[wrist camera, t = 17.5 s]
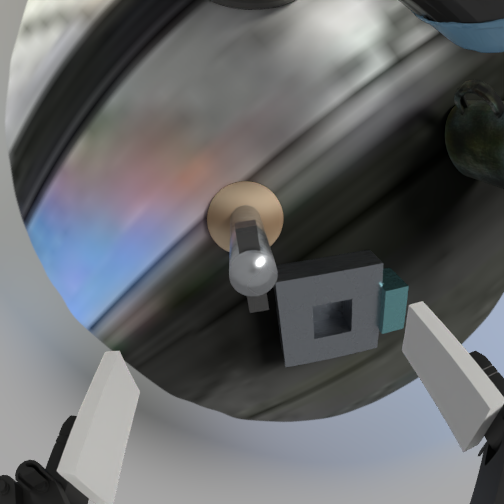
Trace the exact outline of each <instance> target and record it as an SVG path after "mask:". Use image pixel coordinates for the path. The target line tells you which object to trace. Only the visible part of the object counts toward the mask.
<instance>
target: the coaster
mask: <svg viewBox="0 0 504 504" xmlns="http://www.w3.org/2000/svg"><path fill="white" fill-rule="evenodd" d="M243 205H248V206H252V207H254V208H255V209H256V210H257V211H258V212H259V214H260V217H261V220H262V223H263V226H264V229H265V232H266V236H267V239H268V242H269V245H270V246H271V245H272V244H273V243H274V242H275V241H276V239H277V238H278V236H279V234H280V232H281V229H282V226H283V211H282V207H281V205H280V203H279V201H278V199H277V198H276V196H275V195H274V194H273V193H272V191H270V190H269V189H268V188H266V187H265V186H263V185H261V184H258V183H255V182H250V181H241V182H236V183H232V184H230V185H228V186H226V187H224V188H223V189H221V190H220V191H219V192H218V193H217V194H216V195H215V197H214V198H213V200H212V201H211V204H210V206H209V209H208V214H207V225H208V229H209V232H210V234H211V236H212V238H213V240H214V241H215V242H216V243H217V244H218V245H219V246H220V247H221V248H223V249H224V250H226V251H228V252H230V217H231V214H232V212H233V211H234V210H235V209H236V208H238V207H240V206H243Z"/></svg>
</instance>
